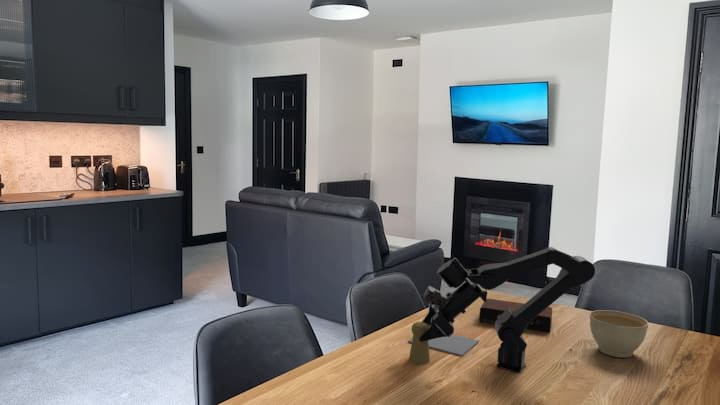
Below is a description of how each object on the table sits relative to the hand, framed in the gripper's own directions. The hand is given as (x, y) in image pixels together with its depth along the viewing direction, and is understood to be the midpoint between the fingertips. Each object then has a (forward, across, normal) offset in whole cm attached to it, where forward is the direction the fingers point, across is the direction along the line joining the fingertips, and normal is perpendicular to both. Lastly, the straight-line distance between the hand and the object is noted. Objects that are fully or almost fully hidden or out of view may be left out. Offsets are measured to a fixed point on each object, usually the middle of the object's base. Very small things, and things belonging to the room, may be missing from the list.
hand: (419, 334), depth 150 cm
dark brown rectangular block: (-19, -38, +30) cm, 53 cm away
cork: (+5, 0, +6) cm, 8 cm away
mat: (-1, -15, +11) cm, 19 cm away
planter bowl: (-38, -15, +48) cm, 63 cm away
